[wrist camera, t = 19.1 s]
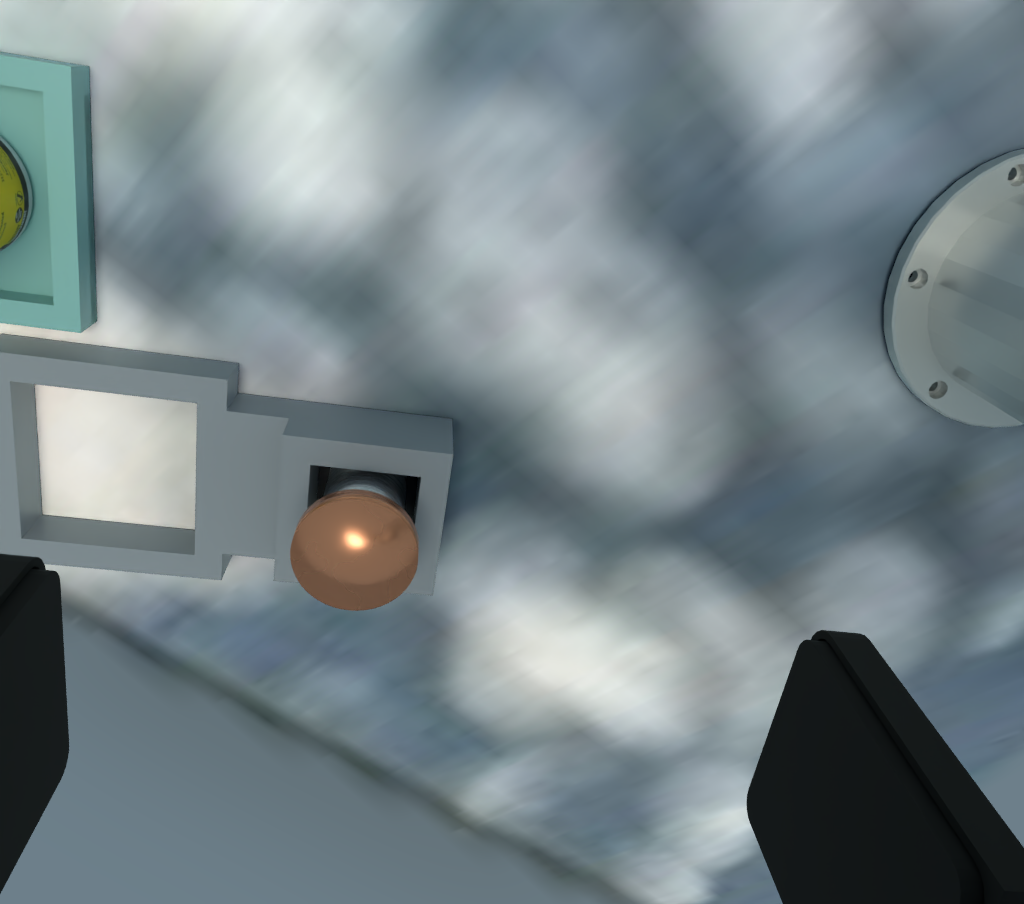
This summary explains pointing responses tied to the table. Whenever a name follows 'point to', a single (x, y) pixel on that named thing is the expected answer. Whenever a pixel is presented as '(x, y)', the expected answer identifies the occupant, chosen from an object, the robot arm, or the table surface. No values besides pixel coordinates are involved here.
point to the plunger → (356, 541)
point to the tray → (50, 195)
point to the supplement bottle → (13, 196)
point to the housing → (209, 464)
